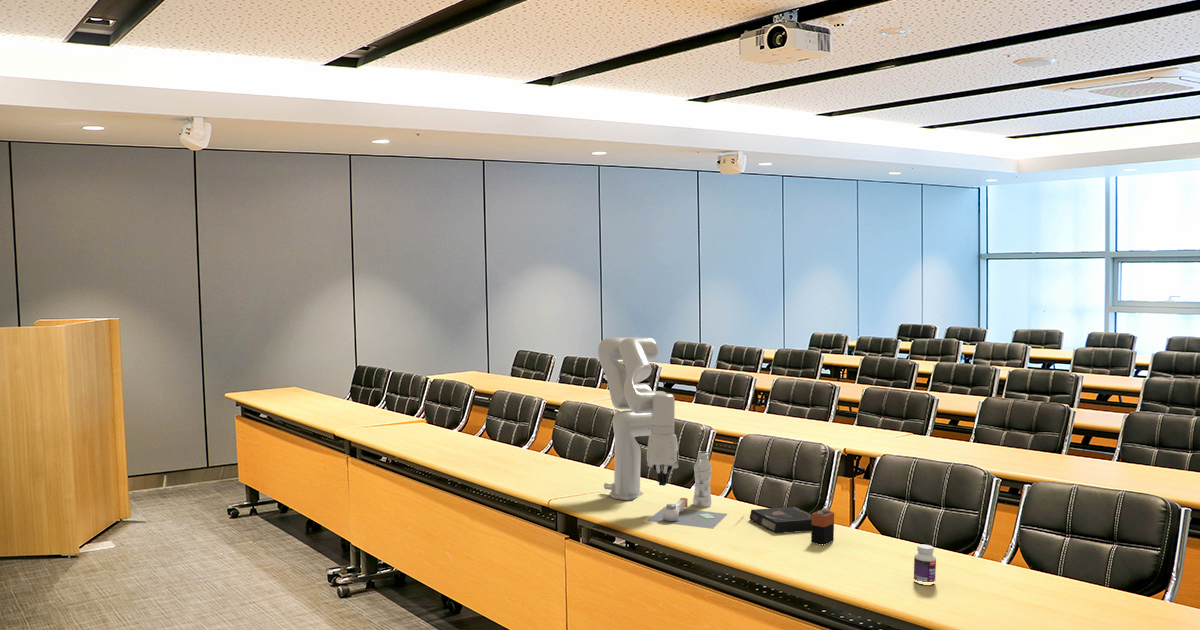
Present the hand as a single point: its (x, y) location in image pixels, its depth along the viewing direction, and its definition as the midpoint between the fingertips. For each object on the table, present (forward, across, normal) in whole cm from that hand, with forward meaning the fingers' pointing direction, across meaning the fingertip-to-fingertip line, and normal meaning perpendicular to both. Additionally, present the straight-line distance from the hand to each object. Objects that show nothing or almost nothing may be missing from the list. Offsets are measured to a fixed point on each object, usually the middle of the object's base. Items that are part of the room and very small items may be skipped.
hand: (662, 484), depth 297 cm
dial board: (+11, +10, -3) cm, 15 cm away
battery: (+12, +54, -8) cm, 56 cm away
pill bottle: (+13, +84, -35) cm, 92 cm away
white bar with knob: (+9, +6, -3) cm, 11 cm away
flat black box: (+12, +40, +7) cm, 42 cm away
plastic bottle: (+11, +10, +15) cm, 21 cm away
